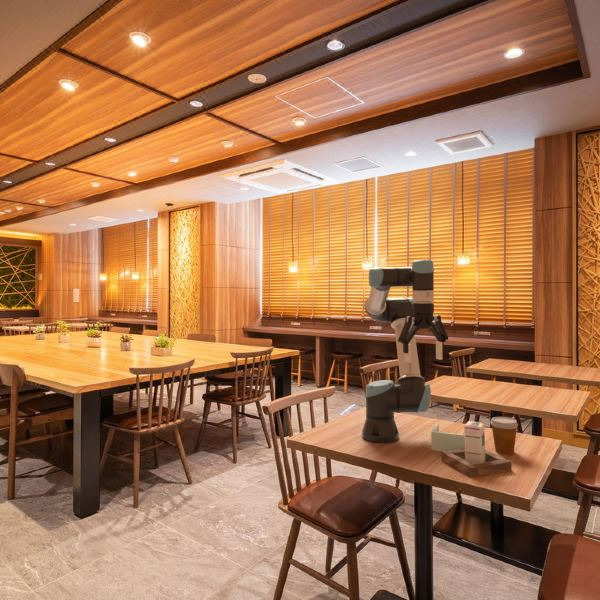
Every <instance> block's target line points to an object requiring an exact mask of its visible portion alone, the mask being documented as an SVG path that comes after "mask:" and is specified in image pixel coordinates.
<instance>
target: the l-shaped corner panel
mask: <svg viewBox="0 0 600 600" xmlns="http://www.w3.org/2000/svg"><path fill="white" fill-rule="evenodd" d="M439 426H440V425H439V423H435V424H434V427H433V428H432V430H431V431H430V432H431V433H430V434H431V435H430V436H431V437H430V438H431V450H432V451H438V452H444V451H451V450H458V449H465V439H464V434H460V433H451V432H442V431H440V427H439Z"/></svg>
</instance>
